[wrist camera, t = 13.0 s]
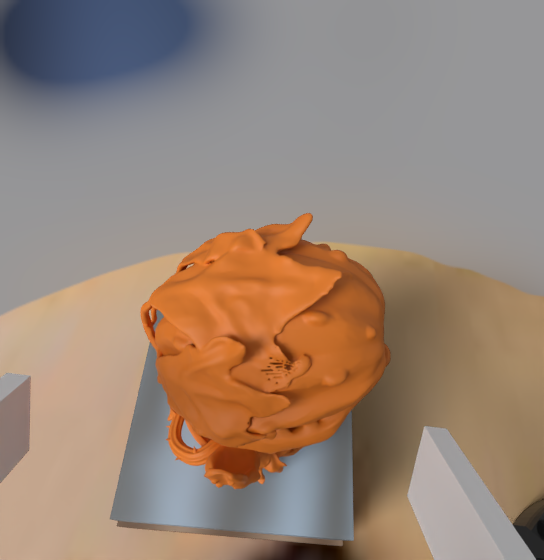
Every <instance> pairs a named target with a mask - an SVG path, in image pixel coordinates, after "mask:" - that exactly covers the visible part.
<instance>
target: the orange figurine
mask: <svg viewBox="0 0 544 560" xmlns="http://www.w3.org/2000/svg"><path fill="white" fill-rule="evenodd" d="M312 218H313V216H312V215H311V214H310V213H306V214H303V215H301V216H300V217H298V218H297V219H296V220H295V221H294V222H293V223H290V224H271V225H267V226H264V227H261V228H259V229H257V230H255V231H254V229H253V230H252V229H247V230H245V231H243V232H226V233H221V234H219V235H218V236H217V237H216V238H213V239H210V240H208V241H206V242H205V243H204V244H202V245H201V246H200V247H199V248H198V249H196V250H195V251H193V252H192V253H190V254H189V255H188V256H186V257H185V258H184V259H183V260H182V262H181V263H180V264H179V265H178V268H177V272H176V274H175V275H173V276H171V277H170V278H169V279H168V280H167V281H166V282H165V283H164V284H163V285H161V286H160V287H158V288H157V289H156V290H155V291H154V292H153V293H152V295H151V297H150V299H149V301H148V302H146V303H144V304H143V306H142V307H141V319H142V323H143V327H144V330H145V332H146V334H147V336H148V339H149V340H150V343H151V344H152V346H153V347H154V348H155V349H156V352H157V359H156V364H155V365H156V368H157V372H158V377H157V381H158V383H160V384H162V387H163V389H164V391H165V392H166V394H167V403H168V405H169V406H170V414H169V417H168V419H167V420H168V421H171V420H172V421H171V424H170V425H169V426H166V427H167V428H169V433H168V439H166V440H167V441H169V446H170V448H171V450H172V452H173V454H174V455H175V456H176V457H177V458H176V459H175V461H176V460H181V461H183V462H184V463H186V464H189V465H192V466H200V465H204V464H205V471H206V473H205V475H204V477H206V478H208V479H209V480H210V481H211V482H212V484H216V486H217V487H218V488H220V487H222V486H223V485H229V486H232V487H233V488H234V489H243V488H245V487H247V486H248V485H249V484H251V483H254V482H257V481H258V482H259V483H260V484H263V483H264V482H265V476H264V475H263V473H262V469H263V468H265V469H266V470H267V471H269V472H272V473H274V472H277V473H281V472H282V471H283V467H284V466H287V465H286V464H285V463H283V462H281V461H280V460H279V457H286V456H291V455H294V454H296V453H297V452H298V451H299V450H300V449H302V448H303V447H305V446H309V445H312V444H316V443H320V442H323V441H325V440H327V439H329V438H330V437H331V436H333V435H334V434H335V432H336V431H337V430H338V428H339V427H340V426H341V424H342V423H343V422H344V420H345V418H346V417H347V415H348V414H349V413H350V411H351V410H352V409H353V408H354V407H355V406H356V405H357V404H358V403H359V402H360V401H361V400H362V398H363V397H365V396H366V395H367V394H368V393H369V392H370V391H371V390H372V388H373V387H374V386H375V385H376V384H377V383H378V381H379V380H380V378H381V377H382V375H383V373H384V370H385V367H386V366H387V365H388V364H389V362H390V350H389V348H388V347H387V345H386V344H385V343H384V326H383V323H384V314H385V301H384V297H383V294H382V291H381V290H380V288H379V286H378V284H377V283H376V281H375V280H374V278H373V277H372V275H371V273H370V272H369V271H368V270H367V269H366V268H364V267H363V266H362V265H361V264H359V263H358V262H356V261H353V260H351V259H349V258H348V257H347V255H346V254H345V253H344V252H342V251H340V250H333V251H332V250H331V249H330V247H329V246H328V245H327V244H319V245H315V244H312V243H310V242H308V241H305V240H302V239H301V238H302V235H303V234H304V232H305V231H306V229H307V228H308V226H309V225H310V223H311V222H312ZM193 263H194V265H193V266H191V267H189V268H187V266H188V265H190V264H193ZM186 268H187V269H186ZM150 309H151V316H152V320H151V319H150V316H149V310H150ZM157 310H159V311H160V312H161V313H162V314H163V316H164V317H163V318H162V320H160V322H159V323H158V325H157V327H156V330H155V331H154V328H153V325H154V324H155V322H156V321H157V315H156V311H157ZM184 420H185V422H186V425H187V427H188V429H189V431H190V432H191V434H192V436H193V437H194V439H195V440H196V441H197V442H198V443H199V444H200V446H201V448H199V449H196V448H195V447H194V448H191V447H189V446H187V445H186V444H185V443H184V442H183V440H182V436H181V431H182V426H183V423H184Z"/></svg>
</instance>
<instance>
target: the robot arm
mask: <svg viewBox="0 0 544 560" xmlns="http://www.w3.org/2000/svg"><path fill="white" fill-rule="evenodd" d="M30 380H31V376H28V375H20V374H12V373H6V374H5V375H3V376H2V377H1V378H0V483H1V482H2V481H3V480H4V478H5V477H6V476H7V475H8V474H9V473H10V472H11V470H12V469H13V468H14V467H15V466H16V465H17V463H18V462H19V461H20V460H21V459H22V458H23V457H24V455H25V454H26V453H27V452H28V451H29V435H30ZM407 496H408V499H409V501H410V504H411V506H412V508H413V511H414V513H415V515H416V518H417V520H418V523H419V525H420V527H421V530H422V532H423V534H424V537H425V539H426V542H427V544H428V546H429V549H430V551H431V553H432V556H433V558H434V560H544V499H543V500H541V501H539V502H536V503H535V504H533V505H531V506H530V507H529V508H527V509H526V510H525V511H524V512H523V513H522V514H521V515H520V516H519V517H518V518H517V520H516V521H515V522H514V524H513V525H512V523H511V522H510V521H509V519H508V518H507V516H506V515H505V513H504V512H503V510H502V509H501V507H500V506H499V504H498V503H497V502H496V500H495V499H494V497H493V496H492V494H491V493H490V491H489V490H488V488H487V487H486V485H485V484H484V483H483V481H482V480H481V478H480V477H479V475H478V474H477V472H476V471H475V469H474V468H473V466H472V465H471V464H470V462H469V461H468V459H467V458H466V456H465V455H464V453H463V452H462V450H461V449H460V448H459V446H458V445H457V443H456V442H455V440H454V439H453V437H452V436H451V434H450V433H449V431H448V430H447V429H445V428H437V427H429V426H424V430H423V434H422V438H421V442H420V446H419V450H418V454H417V458H416V462H415V466H414V470H413V474H412V478H411V482H410V487H409V491H408V495H407Z"/></svg>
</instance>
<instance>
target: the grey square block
mask: <svg viewBox="0 0 544 560" xmlns="http://www.w3.org/2000/svg"><path fill="white" fill-rule="evenodd" d="M156 315H157V321H156V322H155V324H154V326H153V328H154V331H155V330H156V327H157V325H158V323H159V322H160V320H162V318H163V317H164V316H163V314H162V313H161V312H160V311H159V310H157V313H156ZM156 359H157V352H156V349H155V348H154V347H153V346H152V344H151V343H150V344H149V348H148V353H147V357H146V362H145V366H144V370H143V375H142V379H141V384H140V388H139V393H138V397H137V401H136V406H135V410H134V415H133V419H132V423H131V428H130V432H129V437H128V441H127V445H126V450H125V454H124V459H123V463H122V468H121V472H120V476H119V481H118V485H117V490H116V494H115V498H114V503H113V507H112V512H111V516H110V519H112V520H117V521H118V523H117V526H119V527H127V528H137V529H149V530H160V531H172V532H183V533H195V534H206V535H218V536H229V537H241V538H253V539H264V540H276V541H287V542H299V543H310V544H322V545H336V546H343V540H354V533H353V465H352V410H351V411H350V413H349V414H348V415H347V417H346V418H345V420H344V422H343V423H342V424H341V426H340V427H339V428H338V430H337V431H336V432H335V434H334V435H333V436H331V437H330V438H329V439H327V440H325V441H323V442H320V443H316V444H312V445H309V446H305V447H303V448H302V449H300V450H299V451H298V452H297V453H296V454H294V455H291V456H286V457H279V460H280V461H281V462H283V463H285V464H286V465H287V466H284V467H283V471H282V472H281V473H277V472H274V473H272V472H269V471H267V470H266V469H265V468H263V469H262V473H263V475H264V476H265V482H264V483H263V484H260V483H259V482H258V481H257V482H254V483H251V484H249V485H248V486H247V487H245V488H243V489H234V488H233V487H232V486H229V485H223V486H222V487H220V488H218V487H217V486H216V484H212V482H211V481H210V480H209V479H208V478H206V477H204V475H205V473H206V471H205V464H204V465H200V466H192V465H189V464H186V463H184V462H183V461H181V460H176V461H175V459H176V458H177V457H176V456H175V455H174V454H173V452H172V450H171V448H170V446H169V441H167V440H166V439H168V433H169V428H167V427H166V426H169V425H170V424H171V421H172V420H171V421H168V420H167V419H168V417H169V414H170V406H169V405H168V403H167V394H166V392H165V391H164V389H163V387H162V384H160V383H158V381H157V377H158V372H157V368H156V365H155V364H156ZM181 436H182V440H183V442H184V443H185V444H186V445H187V446H189V447H191V448H194V447H195V448H196V449H199V448H201V446H200V444H199V443H198V442H197V441H196V440H195V439H194V437H193V436H192V434H191V432H190V431H189V429H188V427H187V425H186V422H185V420H184V423H183V426H182V431H181Z"/></svg>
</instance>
